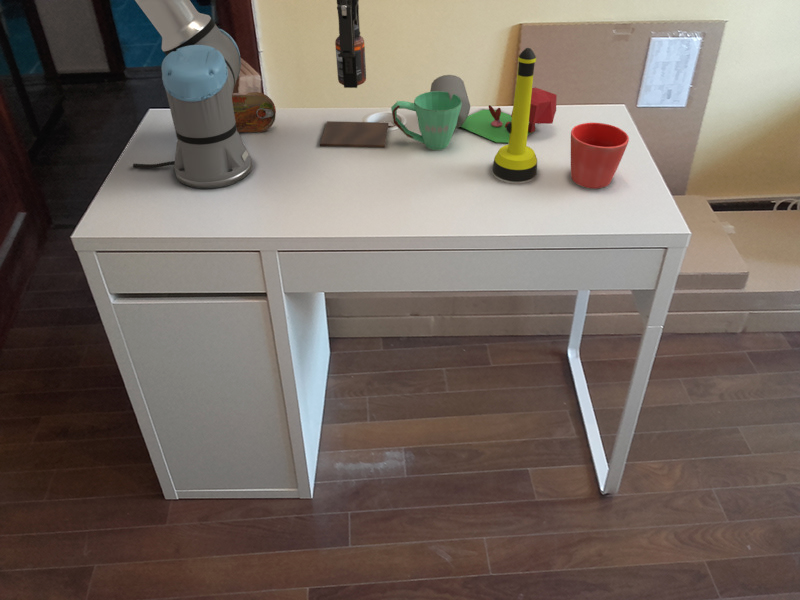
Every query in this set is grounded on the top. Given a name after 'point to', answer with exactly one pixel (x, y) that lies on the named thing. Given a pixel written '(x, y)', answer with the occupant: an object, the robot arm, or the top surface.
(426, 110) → the mug
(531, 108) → the red green faceted piece
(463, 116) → the cup
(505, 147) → the flashlight
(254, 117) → the tin
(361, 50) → the supplement bottle
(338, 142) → the placemat
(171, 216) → the top surface
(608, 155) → the flower pot
